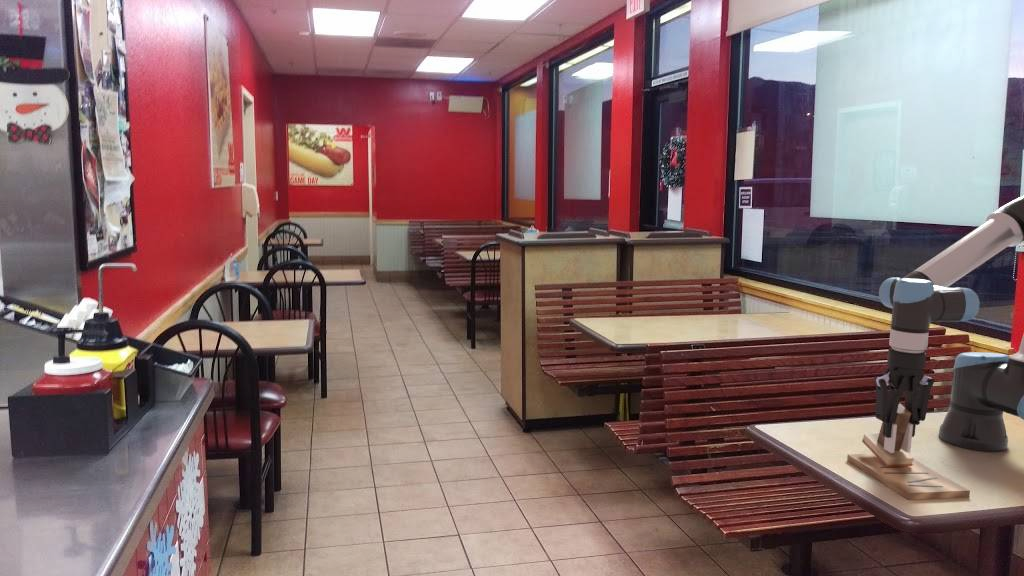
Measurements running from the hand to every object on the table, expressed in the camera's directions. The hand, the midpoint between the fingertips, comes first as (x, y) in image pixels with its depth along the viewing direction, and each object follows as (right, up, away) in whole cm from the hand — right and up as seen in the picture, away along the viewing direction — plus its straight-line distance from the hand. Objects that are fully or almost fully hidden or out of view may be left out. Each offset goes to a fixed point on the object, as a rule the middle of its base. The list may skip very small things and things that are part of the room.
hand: (896, 450), depth 174 cm
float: (-1, -2, +4) cm, 4 cm away
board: (0, -6, -3) cm, 6 cm away
